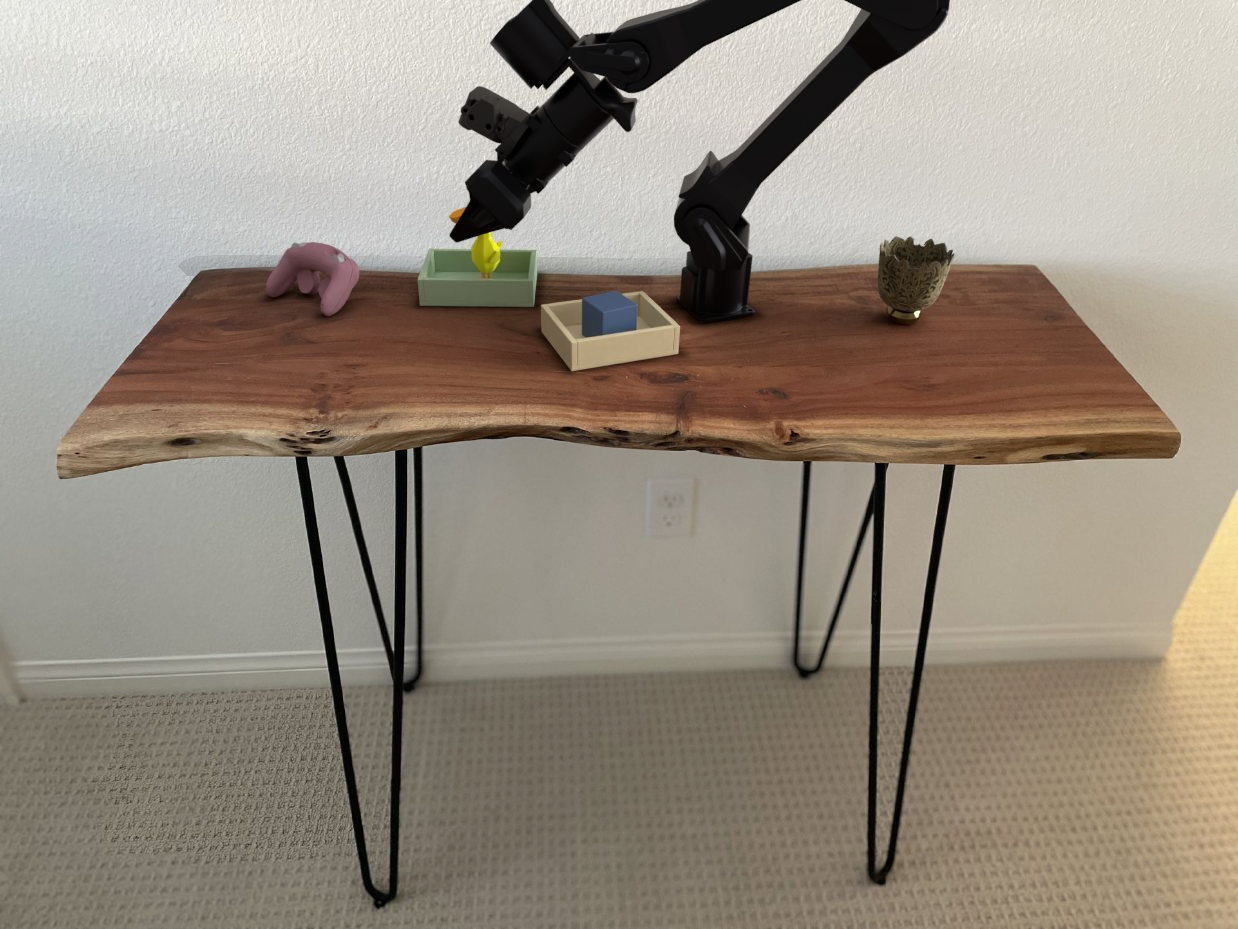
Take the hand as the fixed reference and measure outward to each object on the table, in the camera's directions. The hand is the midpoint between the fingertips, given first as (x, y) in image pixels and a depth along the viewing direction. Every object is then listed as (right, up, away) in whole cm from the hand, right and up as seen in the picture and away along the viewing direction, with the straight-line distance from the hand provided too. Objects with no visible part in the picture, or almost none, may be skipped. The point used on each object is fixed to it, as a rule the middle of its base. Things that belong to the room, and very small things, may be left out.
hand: (464, 225), depth 100 cm
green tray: (+1, -6, +4) cm, 7 cm away
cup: (+47, -10, 0) cm, 48 cm away
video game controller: (-16, -8, 0) cm, 18 cm away
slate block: (+16, -13, -7) cm, 21 cm away
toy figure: (+1, -6, +4) cm, 7 cm away
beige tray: (+16, -13, -6) cm, 22 cm away
